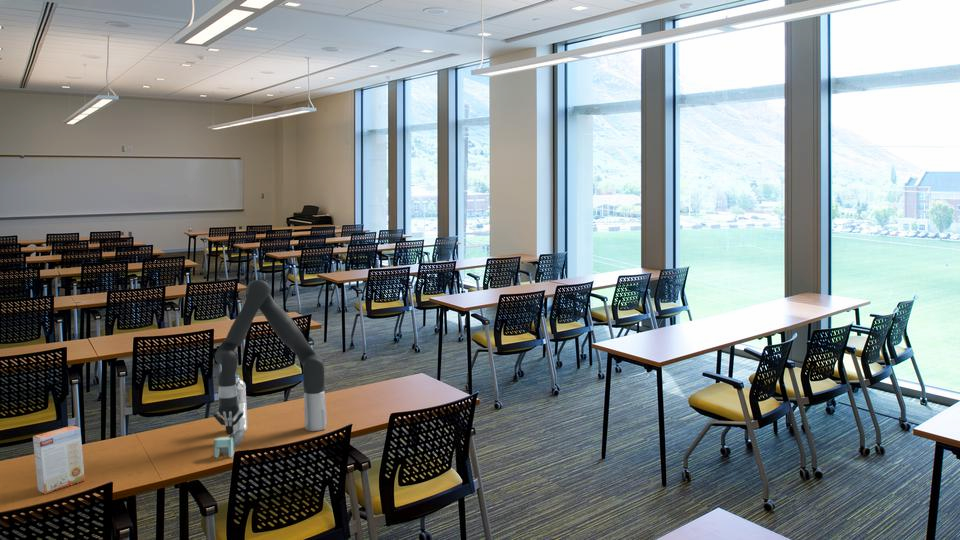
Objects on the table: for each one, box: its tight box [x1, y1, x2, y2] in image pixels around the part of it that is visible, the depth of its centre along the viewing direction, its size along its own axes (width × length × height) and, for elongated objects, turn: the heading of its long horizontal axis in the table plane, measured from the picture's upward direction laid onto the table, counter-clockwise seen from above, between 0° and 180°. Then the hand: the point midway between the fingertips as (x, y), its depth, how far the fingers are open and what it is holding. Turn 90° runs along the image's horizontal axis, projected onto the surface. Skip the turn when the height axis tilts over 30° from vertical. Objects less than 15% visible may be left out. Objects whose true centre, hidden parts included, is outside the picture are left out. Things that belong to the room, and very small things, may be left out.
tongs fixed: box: [220, 429, 245, 456], centre depth 291 cm, size 20×4×4 cm, turn 3°
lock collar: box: [213, 436, 234, 459], centre depth 279 cm, size 3×7×7 cm, turn 93°
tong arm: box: [228, 429, 240, 437], centre depth 293 cm, size 16×2×4 cm, turn 2°
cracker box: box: [32, 425, 86, 494], centre depth 251 cm, size 14×6×21 cm, turn 145°
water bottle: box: [233, 374, 248, 432], centre depth 310 cm, size 7×7×25 cm
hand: (229, 433), depth 296 cm, fingers closed
